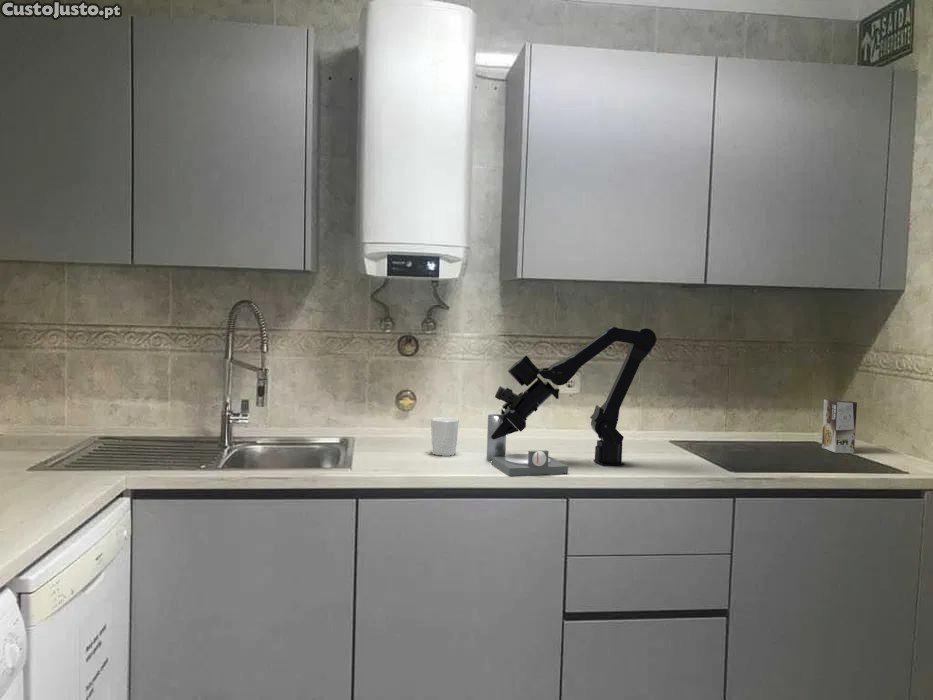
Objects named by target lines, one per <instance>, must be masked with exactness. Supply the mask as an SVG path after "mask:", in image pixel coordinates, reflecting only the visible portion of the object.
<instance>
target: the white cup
mask: <svg viewBox="0 0 933 700" xmlns="http://www.w3.org/2000/svg"><path fill="white" fill-rule="evenodd" d="M430 422H431V423H430V427H431V429H430V430H431V432H430V433H431V445H432V446H431V447H432V448H431V449H432V453H431V454H432V455H434V454H436V455H435V456H438V455H442V456H441V457H451V456H450V455H452V456H455V455H456V454H457V445H458V434H459V422H460V421H459V418H457V417H456V418H455V417H444V416H443V417H442V416H440V417H439V416H438V417H432V418H430ZM454 454H455V455H454Z"/></svg>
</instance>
